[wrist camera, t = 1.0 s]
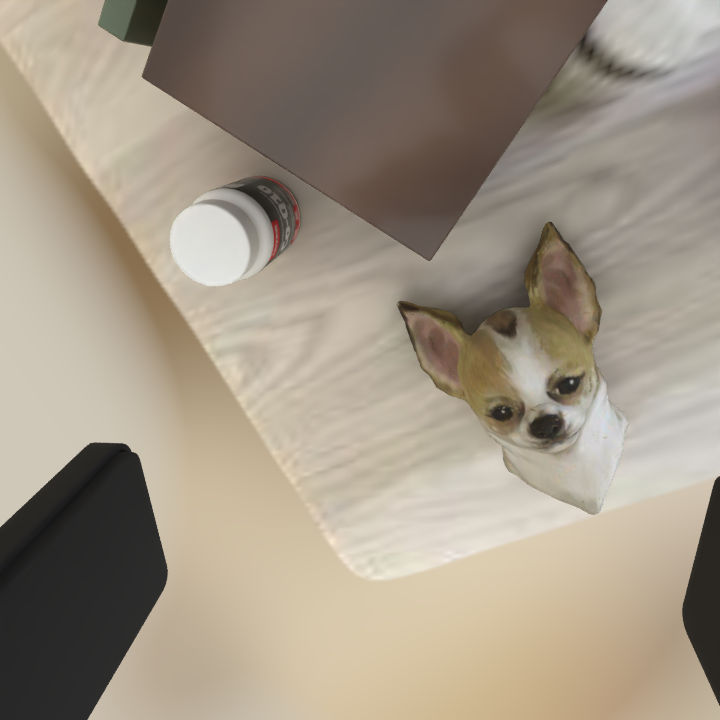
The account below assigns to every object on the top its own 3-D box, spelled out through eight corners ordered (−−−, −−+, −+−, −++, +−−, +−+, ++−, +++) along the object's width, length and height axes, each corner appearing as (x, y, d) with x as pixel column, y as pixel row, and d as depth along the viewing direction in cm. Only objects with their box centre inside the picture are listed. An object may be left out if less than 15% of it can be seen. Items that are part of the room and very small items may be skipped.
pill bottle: (313, 240, 34) (274, 279, 26) (245, 263, 35) (190, 307, 28) (283, 163, 32) (232, 181, 25) (213, 190, 34) (145, 215, 26)
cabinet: (231, 84, 31) (140, 77, 22) (327, -143, 26) (262, -272, 17) (435, 217, 32) (429, 262, 23) (562, 25, 28) (617, -13, 19)
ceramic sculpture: (508, 566, 31) (372, 340, 27) (499, 479, 39) (393, 295, 35) (710, 499, 27) (584, 231, 24) (654, 419, 35) (553, 209, 32)
